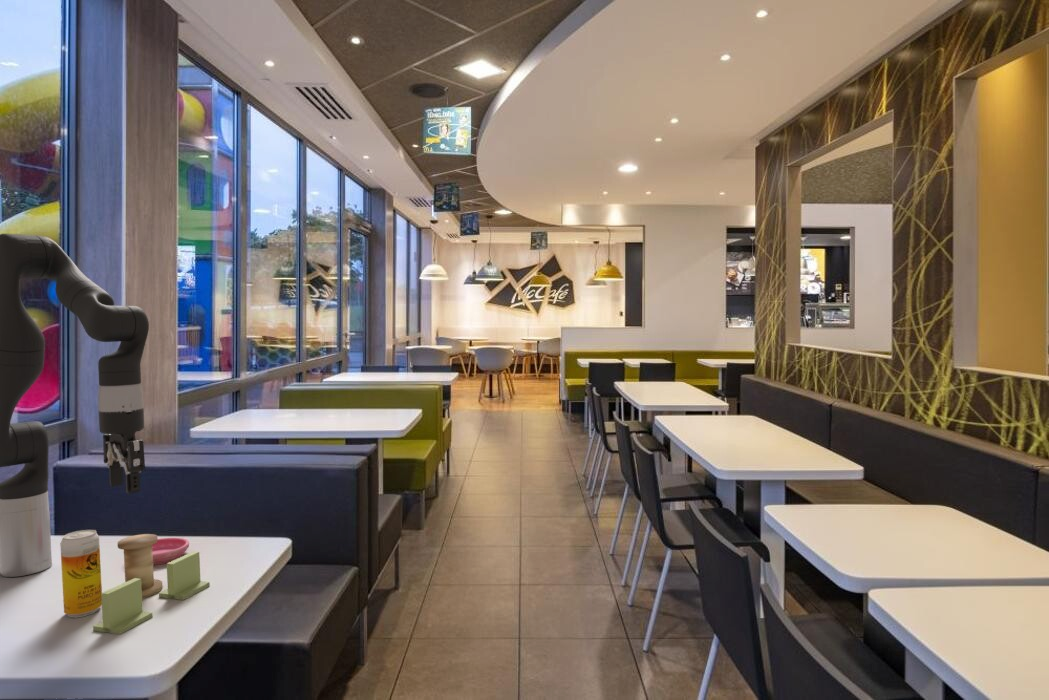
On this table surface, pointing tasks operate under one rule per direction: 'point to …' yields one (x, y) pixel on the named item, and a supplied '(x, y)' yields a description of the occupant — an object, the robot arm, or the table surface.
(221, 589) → the table surface
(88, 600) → the beer can
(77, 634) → the table surface
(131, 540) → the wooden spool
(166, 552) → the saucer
